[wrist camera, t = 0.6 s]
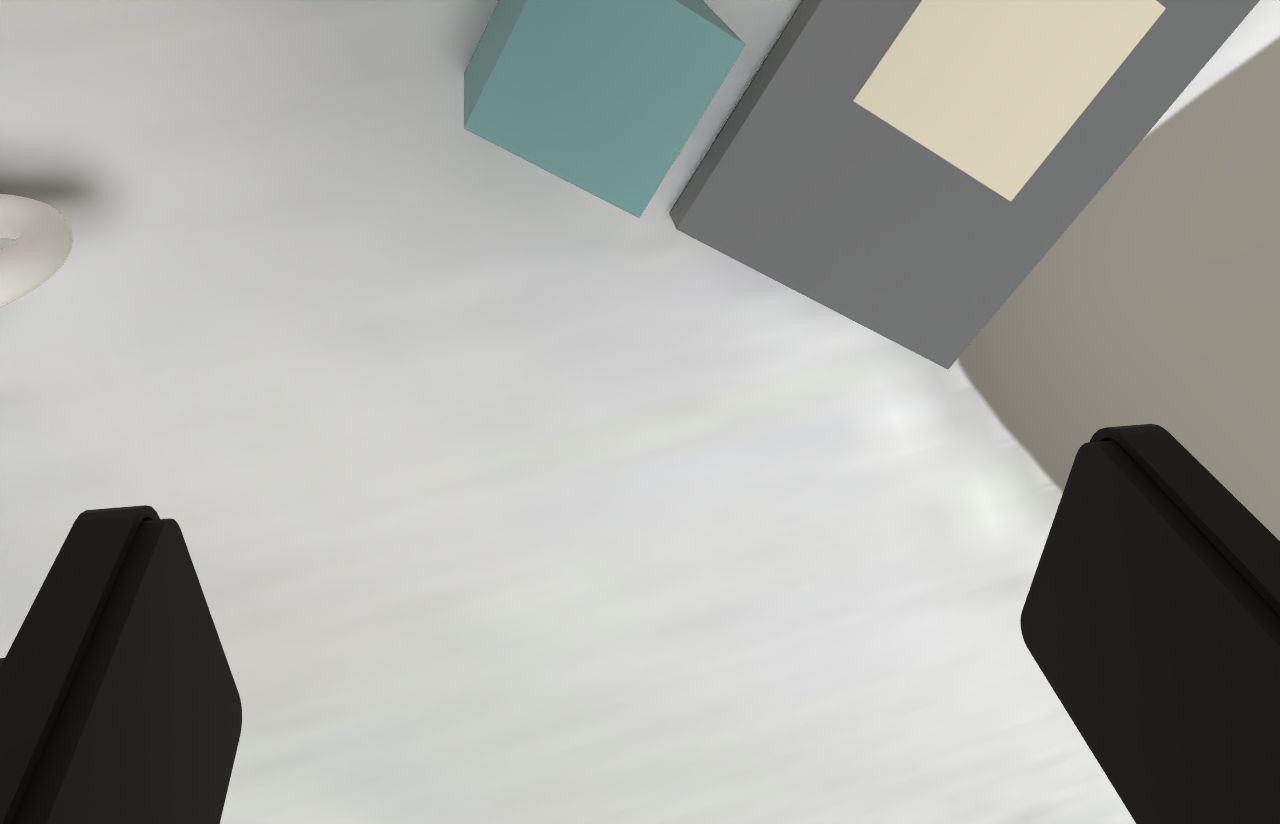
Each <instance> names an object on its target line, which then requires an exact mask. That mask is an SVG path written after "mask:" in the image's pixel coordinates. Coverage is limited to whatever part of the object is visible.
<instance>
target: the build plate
mask: <svg viewBox="0 0 1280 824" xmlns="http://www.w3.org/2000/svg"><path fill="white" fill-rule="evenodd" d="M1259 1H1260V0H803V1H802V2H801V4H800V6H799V7H798V9H797V10H796V12H795V14H794V15H793V17H792V18H791V20H790V22H789V23H788V25H787V26H786V28H785V30H784V31H783V33H782V34H781V36H780V38H779V39H778V41H777V42H776V44H775V46H774V47H773V49H772V50H771V52H770V54H769V55H768V57H767V58H766V60H765V62H764V63H763V65H762V66H761V68H760V70H759V71H758V73H757V74H756V76H755V78H754V79H753V81H752V82H751V84H750V86H749V87H748V89H747V90H746V92H745V94H744V95H743V97H742V98H741V100H740V102H739V103H738V105H737V106H736V108H735V110H734V111H733V113H732V114H731V116H730V118H729V119H728V121H727V122H726V124H725V125H724V127H723V129H722V130H721V132H720V133H719V135H718V137H717V138H716V140H715V141H714V143H713V145H712V146H711V148H710V149H709V151H708V153H707V154H706V156H705V157H704V159H703V161H702V162H701V164H700V165H699V167H698V169H697V170H696V172H695V173H694V175H693V177H692V178H691V180H690V181H689V183H688V185H687V186H686V188H685V189H684V191H683V193H682V194H681V196H680V197H679V199H678V201H677V202H676V204H675V205H674V207H673V209H672V210H671V212H670V216H671V218H672V220H673V222H674V224H675V227H676V229H677V230H679V231H681V232H683V233H685V234H687V235H689V236H691V237H693V238H695V239H697V240H698V241H700V242H702V243H704V244H706V245H708V246H710V247H712V248H714V249H716V250H718V251H720V252H722V253H724V254H726V255H728V256H729V257H731V258H733V259H735V260H737V261H739V262H741V263H743V264H745V265H747V266H749V267H751V268H753V269H755V270H757V271H758V272H760V273H762V274H764V275H766V276H768V277H770V278H772V279H774V280H776V281H778V282H780V283H782V284H784V285H786V286H787V287H789V288H791V289H793V290H795V291H797V292H799V293H801V294H803V295H805V296H807V297H809V298H811V299H813V300H815V301H817V302H818V303H820V304H822V305H824V306H826V307H828V308H830V309H832V310H834V311H836V312H838V313H840V314H842V315H844V316H846V317H847V318H849V319H851V320H853V321H855V322H857V323H859V324H861V325H863V326H865V327H867V328H869V329H871V330H873V331H875V332H877V333H878V334H880V335H882V336H884V337H886V338H888V339H890V340H892V341H894V342H896V343H898V344H900V345H902V346H904V347H906V348H907V349H909V350H911V351H913V352H915V353H917V354H919V355H921V356H923V357H925V358H927V359H929V360H931V361H933V362H935V363H936V364H938V365H940V366H942V367H944V368H946V369H949V368H950V367H951V365H952V364H953V363H954V362H955V361H956V360H957V358H958V357H959V356H960V355H961V354H962V352H963V351H964V350H965V349H966V348H967V346H968V345H969V344H970V343H971V342H972V340H973V339H974V338H975V337H976V336H977V334H978V333H979V332H980V331H981V330H982V329H983V328H984V326H985V325H986V324H987V323H988V322H989V320H990V319H991V318H992V317H993V316H994V315H995V313H996V312H997V311H998V310H999V309H1000V307H1001V306H1002V305H1003V304H1004V303H1005V302H1006V300H1007V299H1008V298H1009V297H1010V296H1011V294H1012V293H1013V292H1014V291H1015V290H1016V288H1017V287H1018V286H1019V285H1020V284H1021V283H1022V281H1023V280H1024V279H1025V278H1026V277H1027V275H1028V274H1029V273H1030V272H1031V271H1032V270H1033V268H1034V267H1035V266H1036V265H1037V264H1038V262H1039V261H1040V260H1041V259H1042V258H1043V256H1044V255H1045V254H1046V253H1047V252H1048V250H1049V249H1050V248H1051V247H1052V246H1053V245H1054V243H1055V242H1056V241H1057V240H1058V239H1059V238H1060V236H1061V235H1062V234H1063V233H1064V232H1065V230H1066V229H1067V228H1068V227H1069V226H1070V224H1071V223H1072V222H1073V221H1074V220H1075V218H1076V217H1077V216H1078V215H1079V214H1080V212H1081V211H1082V210H1083V209H1084V208H1085V207H1086V206H1087V204H1088V203H1089V202H1090V201H1091V200H1092V198H1093V197H1094V196H1095V195H1096V194H1097V192H1098V191H1099V190H1100V189H1101V188H1102V187H1103V185H1104V184H1105V183H1106V182H1107V181H1108V179H1109V178H1110V177H1111V176H1112V175H1113V174H1114V172H1115V171H1116V170H1117V169H1118V167H1119V166H1120V165H1121V164H1122V163H1123V162H1124V161H1125V159H1126V158H1127V157H1128V156H1129V155H1130V153H1131V152H1132V151H1133V150H1134V149H1135V147H1136V146H1137V145H1138V144H1139V143H1140V142H1141V140H1142V139H1143V138H1144V137H1145V136H1146V134H1147V133H1148V132H1149V131H1150V130H1151V129H1152V127H1153V126H1154V125H1155V124H1156V123H1157V121H1158V120H1159V119H1160V118H1161V117H1162V115H1163V114H1164V113H1165V112H1166V111H1167V110H1168V108H1169V107H1170V106H1171V105H1172V104H1173V102H1174V101H1175V100H1176V99H1177V98H1178V97H1179V95H1180V94H1181V93H1182V92H1183V91H1184V89H1185V88H1186V87H1187V86H1188V85H1189V83H1190V82H1191V81H1192V80H1193V79H1194V78H1195V76H1196V75H1197V74H1198V73H1199V72H1200V70H1201V69H1202V68H1203V67H1204V66H1205V65H1206V63H1207V62H1208V61H1209V60H1210V59H1211V57H1212V56H1213V55H1214V54H1215V53H1216V51H1217V50H1218V49H1219V48H1220V47H1221V46H1222V44H1223V43H1224V42H1225V41H1226V40H1227V38H1228V37H1229V36H1230V35H1231V34H1232V33H1233V31H1234V30H1235V29H1236V28H1237V27H1238V25H1239V24H1240V23H1241V22H1242V21H1243V19H1244V18H1245V17H1246V16H1247V15H1248V14H1249V12H1250V11H1251V10H1252V9H1253V8H1254V6H1255V5H1256V4H1257V3H1258V2H1259Z"/></svg>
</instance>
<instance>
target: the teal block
mask: <svg viewBox="0 0 1280 824" xmlns="http://www.w3.org/2000/svg"><path fill="white" fill-rule="evenodd" d="M744 46H745V44H744V43H743V42H742V41H741V40H740V39H739V37H738V36H737V35H736V34H735V33H734V32H733V31H732V30H731V29H730V28H729V27H728V26H727V25H726V24H725V23H724V22H723V21H722V20H721V19H720V18H719V17H718V16H717V15H716V14H715V13H714V12H713V11H712V10H711V9H710V8H709V7H708V6H707V5H706V4H705V2H704V1H702V0H499V2H498V4H497V6H496V8H495V10H494V13H493V15H492V17H491V19H490V21H489V23H488V25H487V27H486V29H485V31H484V33H483V35H482V37H481V40H480V42H479V44H478V46H477V48H476V50H475V52H474V54H473V56H472V58H471V60H470V62H469V65H468V67H467V69H466V71H465V73H464V129H466V130H468V131H470V132H472V133H474V134H476V135H478V136H480V137H482V138H484V139H486V140H488V141H490V142H492V143H494V144H496V145H498V146H500V147H502V148H503V149H505V150H507V151H509V152H511V153H513V154H515V155H517V156H519V157H521V158H523V159H525V160H527V161H529V162H531V163H533V164H535V165H537V166H539V167H541V168H542V169H544V170H546V171H548V172H550V173H552V174H554V175H556V176H558V177H560V178H562V179H564V180H566V181H568V182H570V183H572V184H574V185H576V186H578V187H580V188H582V189H583V190H585V191H587V192H589V193H591V194H593V195H595V196H597V197H599V198H601V199H603V200H605V201H607V202H609V203H611V204H613V205H615V206H617V207H619V208H621V209H622V210H624V211H626V212H628V213H630V214H632V215H634V216H636V217H638V218H640V216H641V214H642V213H643V211H644V210H645V208H646V206H647V205H648V203H649V201H650V200H651V198H652V196H653V195H654V193H655V192H656V190H657V188H658V187H659V185H660V183H661V182H662V180H663V178H664V177H665V175H666V174H667V172H668V170H669V169H670V167H671V165H672V164H673V162H674V160H675V159H676V157H677V156H678V154H679V152H680V151H681V149H682V147H683V146H684V144H685V142H686V141H687V139H688V138H689V136H690V134H691V133H692V131H693V129H694V128H695V126H696V124H697V123H698V121H699V120H700V118H701V116H702V115H703V113H704V111H705V110H706V108H707V107H708V105H709V103H710V102H711V100H712V98H713V97H714V95H715V93H716V92H717V90H718V89H719V87H720V85H721V84H722V82H723V80H724V79H725V77H726V75H727V74H728V72H729V71H730V69H731V67H732V66H733V64H734V62H735V61H736V59H737V57H738V56H739V54H740V53H741V51H742V49H743V48H744Z"/></svg>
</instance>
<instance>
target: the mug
mask: <svg viewBox="0 0 1280 824" xmlns="http://www.w3.org/2000/svg"><path fill="white" fill-rule="evenodd" d="M0 238H10V239H16V240H15V241H14V242H12V243H11V244H9V245H8V246H6V247H4V248H2V249H0V307H1V306H3V305H5V304H8V303H10V302H12V301H14V300H16V299H18V298H20V297H22V296H23V295H25V294H27V293H28V292H30V291H32V290H33V289H35V288H36V287H38V286H39V285H41V284H42V283H44V282H45V281H46V280H47V279H49V278H50V277H51V276H52V275H54V274H55V273H56V272H57V271H58V270H59V269H60V267H61V266H62V265H63V264H64V262H65V261H66V259H67V257H68V255H69V253H70V251H71V247H72V243H73V237H72V231H71V227H70V225H69V223H68V222H67V220H66V219H65V217H64V216H63V215H62V214H61V213H60V212H59V211H57V210H56V209H55V208H53V207H51V206H50V205H48V204H46V203H43V202H40V201H37V200H34V199H30V198H26V197H21V196H16V195H7V194H0Z"/></svg>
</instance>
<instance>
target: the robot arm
mask: <svg viewBox="0 0 1280 824" xmlns="http://www.w3.org/2000/svg"><path fill="white" fill-rule="evenodd" d="M1021 631H1022V635H1023V639H1024V642H1025V644H1026V646H1027V648H1028V649H1029V651H1030V653H1031V654H1032V656H1033V657H1034V659H1035V661H1036V662H1037V664H1038V666H1039V667H1040V669H1041V670H1042V672H1043V674H1044V675H1045V677H1046V678H1047V680H1048V682H1049V683H1050V685H1051V687H1052V688H1053V690H1054V691H1055V693H1056V695H1057V696H1058V698H1059V699H1060V701H1061V703H1062V704H1063V706H1064V708H1065V709H1066V711H1067V712H1068V714H1069V716H1070V717H1071V719H1072V720H1073V722H1074V724H1075V725H1076V727H1077V729H1078V730H1079V732H1080V733H1081V735H1082V737H1083V738H1084V740H1085V741H1086V743H1087V745H1088V746H1089V748H1090V750H1091V751H1092V753H1093V754H1094V756H1095V758H1096V759H1097V761H1098V763H1099V764H1100V766H1101V767H1102V769H1103V771H1104V772H1105V774H1106V775H1107V777H1108V779H1109V780H1110V782H1111V784H1112V785H1113V787H1114V788H1115V790H1116V792H1117V793H1118V795H1119V796H1120V798H1121V800H1122V801H1123V803H1124V805H1125V806H1126V808H1127V809H1128V811H1129V813H1130V814H1131V816H1132V817H1133V819H1134V821H1135V822H1136V824H1280V541H1279V540H1278V539H1277V538H1276V537H1275V536H1274V535H1273V534H1272V533H1271V532H1270V531H1269V530H1268V529H1267V528H1266V527H1265V526H1264V525H1263V524H1262V523H1260V521H1259V520H1257V519H1256V518H1255V517H1254V516H1253V515H1252V514H1251V513H1250V512H1249V511H1248V510H1247V509H1246V508H1245V507H1244V506H1243V505H1242V504H1241V503H1240V502H1239V501H1238V500H1237V499H1236V498H1235V497H1234V496H1233V495H1232V494H1231V493H1230V492H1229V491H1228V490H1227V489H1226V488H1225V487H1224V486H1223V485H1222V484H1221V483H1220V482H1219V481H1218V480H1217V479H1216V478H1215V477H1214V476H1213V475H1212V474H1211V473H1210V472H1209V471H1208V470H1207V469H1206V468H1205V467H1203V466H1202V465H1201V464H1200V463H1199V462H1198V461H1197V460H1196V459H1195V458H1194V457H1193V456H1192V455H1191V454H1190V453H1189V452H1188V451H1187V450H1186V449H1185V448H1184V447H1183V446H1182V445H1181V444H1180V443H1179V442H1178V441H1177V440H1176V439H1175V438H1174V437H1173V436H1172V435H1171V434H1170V433H1169V432H1168V431H1166V430H1165V429H1164V428H1162V427H1161V426H1159V425H1154V424H1145V425H1132V426H1121V427H1109V428H1103V429H1100V430H1098V431H1097V432H1096V433H1095V434H1094V435H1093V436H1092V438H1091V440H1090V442H1089V443H1085V444H1084V445H1082V446H1081V447H1080V449H1079V450H1078V452H1077V454H1076V457H1075V460H1074V463H1073V466H1072V469H1071V472H1070V475H1069V478H1068V481H1067V483H1066V486H1065V489H1064V492H1063V495H1062V498H1061V501H1060V503H1059V506H1058V509H1057V512H1056V515H1055V518H1054V521H1053V524H1052V527H1051V529H1050V532H1049V535H1048V538H1047V541H1046V544H1045V547H1044V550H1043V553H1042V555H1041V558H1040V561H1039V564H1038V567H1037V570H1036V573H1035V576H1034V578H1033V581H1032V584H1031V587H1030V590H1029V593H1028V596H1027V599H1026V602H1025V604H1024V607H1023V610H1022V614H1021ZM241 726H242V708H241V700H240V697H239V693H238V690H237V688H236V685H235V682H234V679H233V676H232V673H231V671H230V668H229V665H228V662H227V659H226V656H225V654H224V651H223V648H222V645H221V642H220V639H219V637H218V634H217V631H216V628H215V625H214V622H213V620H212V617H211V614H210V611H209V608H208V606H207V603H206V600H205V597H204V594H203V591H202V589H201V586H200V583H199V580H198V577H197V574H196V572H195V569H194V566H193V563H192V560H191V557H190V555H189V552H188V549H187V546H186V543H185V540H184V538H183V535H182V532H181V529H180V527H179V525H178V523H177V522H176V521H175V520H174V519H160V518H159V516H158V514H157V512H156V511H155V510H154V509H153V508H152V507H151V506H133V507H121V508H109V509H96V510H86V511H84V512H83V513H81V514H80V515H79V516H78V518H77V519H76V521H75V522H74V524H73V526H72V528H71V530H70V532H69V534H68V536H67V538H66V540H65V542H64V544H63V546H62V548H61V550H60V552H59V554H58V555H57V557H56V559H55V561H54V563H53V565H52V567H51V569H50V571H49V573H48V575H47V577H46V579H45V581H44V583H43V585H42V587H41V589H40V591H39V593H38V595H37V597H36V599H35V601H34V603H33V604H32V606H31V608H30V610H29V612H28V614H27V616H26V618H25V620H24V622H23V624H22V626H21V628H20V630H19V632H18V634H17V636H16V638H15V640H14V642H13V644H12V646H11V648H10V650H9V651H8V653H7V655H6V657H5V658H0V824H220V820H221V815H222V811H223V807H224V803H225V798H226V794H227V790H228V785H229V781H230V777H231V772H232V768H233V764H234V760H235V755H236V751H237V747H238V742H239V738H240V733H241Z"/></svg>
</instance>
